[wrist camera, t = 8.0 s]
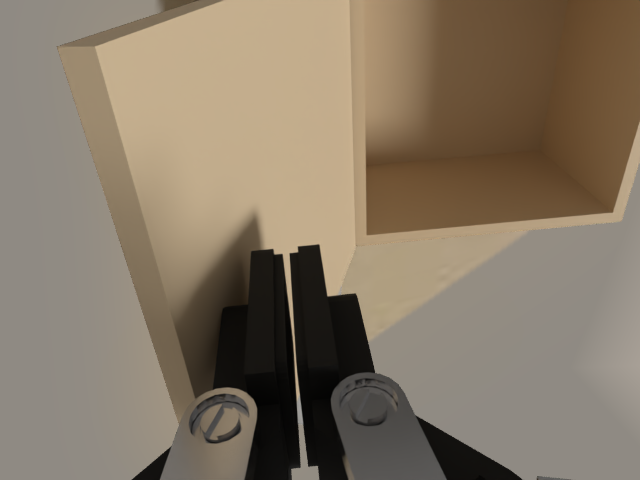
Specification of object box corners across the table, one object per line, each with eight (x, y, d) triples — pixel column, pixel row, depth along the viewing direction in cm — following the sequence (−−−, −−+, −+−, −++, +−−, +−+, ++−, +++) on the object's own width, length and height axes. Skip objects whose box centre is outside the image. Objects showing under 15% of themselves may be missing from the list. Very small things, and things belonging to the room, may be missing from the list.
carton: (586, -74, 27) (710, -71, 19) (543, 154, 34) (621, 221, 26) (325, -55, 26) (347, -45, 19) (336, 172, 33) (354, 246, 26)
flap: (94, 46, 7) (57, 46, 7) (238, 552, 14) (218, 547, 14) (348, -45, 19) (332, -44, 19) (355, 248, 26) (343, 247, 26)
